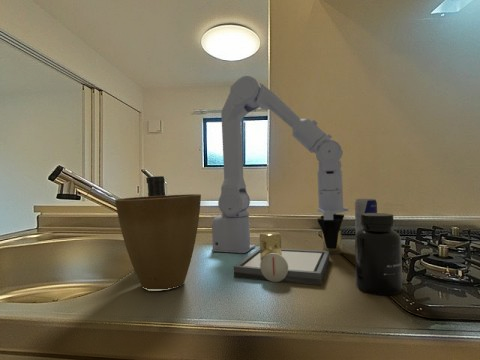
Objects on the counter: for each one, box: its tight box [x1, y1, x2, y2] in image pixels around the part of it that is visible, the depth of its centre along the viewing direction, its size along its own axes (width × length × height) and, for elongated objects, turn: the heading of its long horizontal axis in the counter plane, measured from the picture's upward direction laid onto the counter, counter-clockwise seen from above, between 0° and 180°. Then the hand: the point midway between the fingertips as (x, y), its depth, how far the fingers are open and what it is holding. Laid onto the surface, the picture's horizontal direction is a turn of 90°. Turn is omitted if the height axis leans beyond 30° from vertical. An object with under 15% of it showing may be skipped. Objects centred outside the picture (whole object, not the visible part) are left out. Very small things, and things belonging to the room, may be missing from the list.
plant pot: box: [114, 193, 202, 289], centre depth 55 cm, size 15×15×16 cm
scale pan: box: [244, 251, 322, 271], centre depth 62 cm, size 13×13×1 cm
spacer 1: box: [259, 231, 282, 260], centre depth 63 cm, size 4×4×5 cm
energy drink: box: [354, 198, 378, 234], centre depth 79 cm, size 5×5×12 cm
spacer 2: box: [321, 230, 343, 255], centre depth 74 cm, size 4×4×5 cm
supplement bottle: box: [354, 212, 403, 296], centre depth 49 cm, size 7×7×12 cm
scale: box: [233, 247, 330, 286], centre depth 61 cm, size 16×17×5 cm
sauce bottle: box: [145, 175, 166, 197], centre depth 70 cm, size 6×6×20 cm
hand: (332, 245), depth 74 cm, fingers closed on spacer 2, 4 cm apart
